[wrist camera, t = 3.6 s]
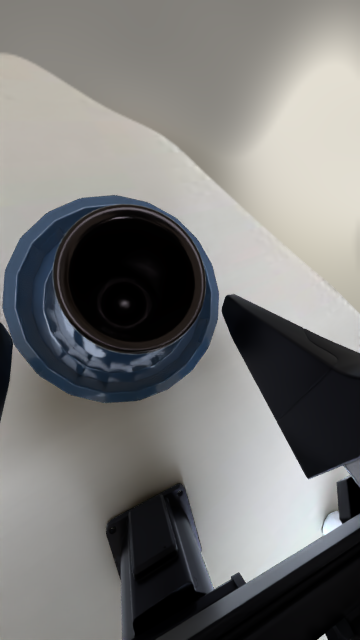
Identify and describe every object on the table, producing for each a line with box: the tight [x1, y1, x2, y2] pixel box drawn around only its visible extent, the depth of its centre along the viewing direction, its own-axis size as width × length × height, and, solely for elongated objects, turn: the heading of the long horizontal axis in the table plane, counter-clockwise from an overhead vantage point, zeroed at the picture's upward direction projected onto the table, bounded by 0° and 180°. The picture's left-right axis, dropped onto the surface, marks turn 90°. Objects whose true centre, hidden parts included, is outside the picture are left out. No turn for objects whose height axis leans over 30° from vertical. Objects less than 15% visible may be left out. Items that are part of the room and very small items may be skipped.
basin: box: [3, 195, 219, 403], centre depth 14 cm, size 12×12×4 cm
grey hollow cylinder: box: [53, 204, 206, 355], centre depth 11 cm, size 4×4×10 cm
